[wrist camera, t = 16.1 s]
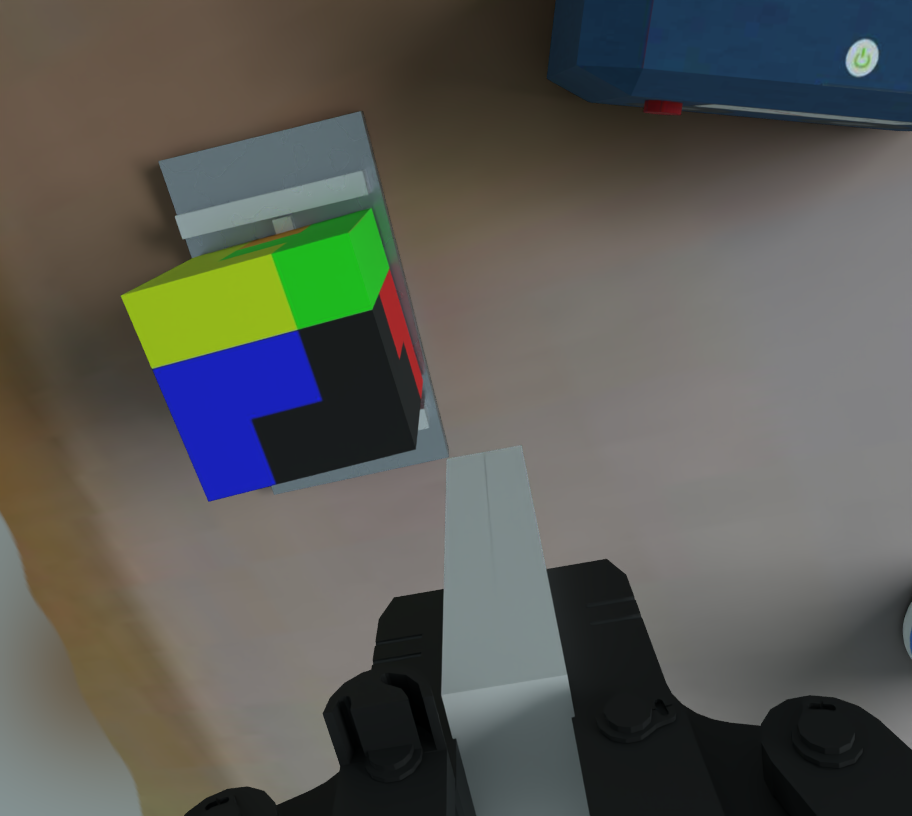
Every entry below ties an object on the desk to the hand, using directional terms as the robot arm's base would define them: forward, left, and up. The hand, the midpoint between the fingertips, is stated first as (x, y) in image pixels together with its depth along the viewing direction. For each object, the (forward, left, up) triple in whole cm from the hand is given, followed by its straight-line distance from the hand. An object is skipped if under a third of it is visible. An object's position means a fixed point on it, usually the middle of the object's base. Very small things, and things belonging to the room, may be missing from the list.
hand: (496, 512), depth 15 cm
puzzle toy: (+1, -9, -28) cm, 30 cm away
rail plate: (+1, -9, -30) cm, 31 cm away
